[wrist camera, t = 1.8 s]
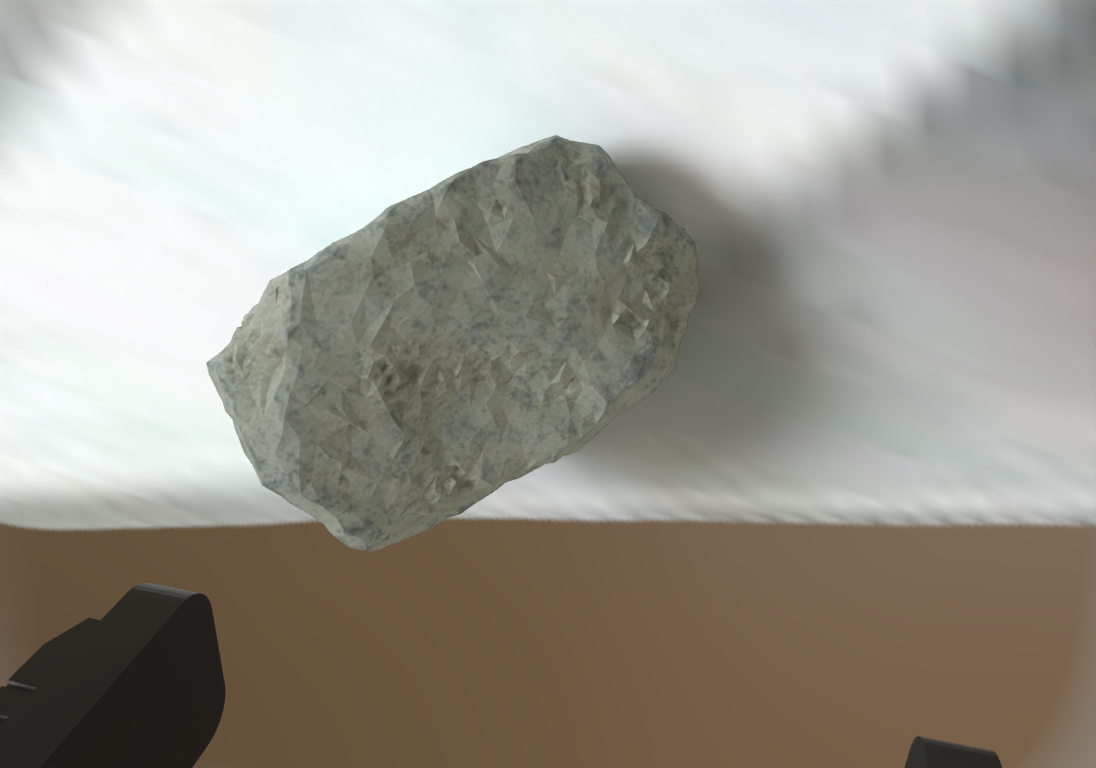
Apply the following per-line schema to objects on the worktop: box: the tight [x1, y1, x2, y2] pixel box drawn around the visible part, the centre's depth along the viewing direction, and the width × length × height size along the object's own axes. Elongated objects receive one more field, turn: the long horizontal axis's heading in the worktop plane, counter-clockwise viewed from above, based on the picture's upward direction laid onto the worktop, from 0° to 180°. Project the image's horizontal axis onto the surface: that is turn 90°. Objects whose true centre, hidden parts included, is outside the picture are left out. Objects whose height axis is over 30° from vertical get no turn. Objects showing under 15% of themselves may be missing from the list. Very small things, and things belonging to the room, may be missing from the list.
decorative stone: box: [207, 136, 699, 551], centre depth 29 cm, size 14×11×10 cm
